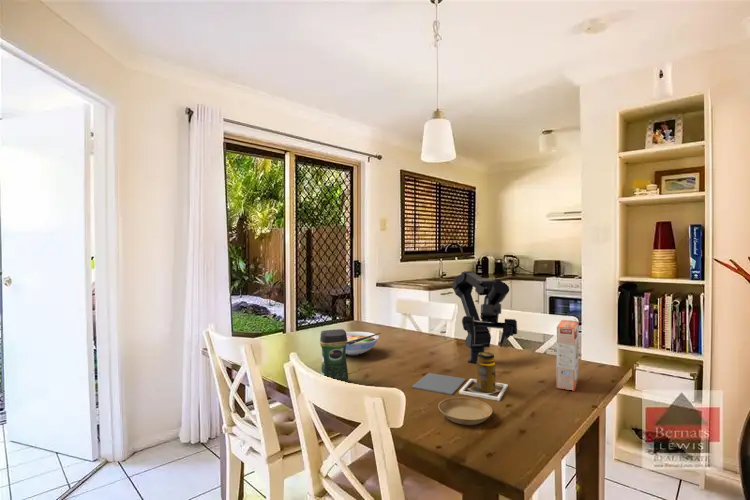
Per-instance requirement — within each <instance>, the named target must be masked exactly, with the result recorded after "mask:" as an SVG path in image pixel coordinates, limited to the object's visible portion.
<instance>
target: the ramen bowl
mask: <svg viewBox="0 0 750 500" xmlns="http://www.w3.org/2000/svg"><path fill="white" fill-rule="evenodd" d="M381 334H382V333H381V332H378V333H372V332H368V331H367V332H366V331H346V335H347V345H346V354H347V355H346V356H359V354H360V355H362V354H363V353H364V354H365V353H366V352H369V351H370V350H371V349H373V348H374V347H375V346H376V343H378V340H379V335H381Z"/></svg>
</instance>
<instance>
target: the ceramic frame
mask: <svg viewBox="0 0 750 500" xmlns="http://www.w3.org/2000/svg"><path fill="white" fill-rule="evenodd" d="M472 383H475V384H477V378H469V380H468V381H467V382H465V384H464V385H463V386H462V387H461V388H460V389H459V391H458V394H459V395H465V396H470V397H476V398H482V399H487V400H492V401H499V402H500V401H501V399H502V397H503V395H504V394H505V393H506V391H507V389H508V383H502V382H496V387H501V389H500V390H501V391H499V394H498V395H497V396H494V395H490V394H489V395H483V394H478V393H474V392H472V391H466V390H467V388H469V386H470V385H471V384H472Z"/></svg>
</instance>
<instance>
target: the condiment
mask: <svg viewBox="0 0 750 500" xmlns="http://www.w3.org/2000/svg"><path fill="white" fill-rule="evenodd" d="M496 376H497V374H496V362H495V354H494V353H492V352H489V351H485V352H480V353H478V360H477V363H476V379H477V383H476V385H475V386H471V387H467V388H466V390H468V391H469V392H472V393H478V394H483V395H489V396H490V395H491V394H492V395H493V394H495V393H498V392H499V393H500V392H501V390H502V389H498V388H497V386H496V383H497V382H496V380H497V379H496Z"/></svg>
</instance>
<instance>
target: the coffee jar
mask: <svg viewBox="0 0 750 500" xmlns="http://www.w3.org/2000/svg"><path fill="white" fill-rule="evenodd" d="M346 332H347V331H346V330H345V329H343V328H339V329H338V328H337V329H336V328H335V329H327V330H322V331H321V330H320V338H319V344H320V347H321V364H320V365H321V367H320V375H321V374H322V375H324V376H327V377H331V378H333V379H337V380H341V381H345V382H347V383H348V381H349V372H348V370H349V369H348V364H347V355H346V345H347V335H346Z"/></svg>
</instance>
